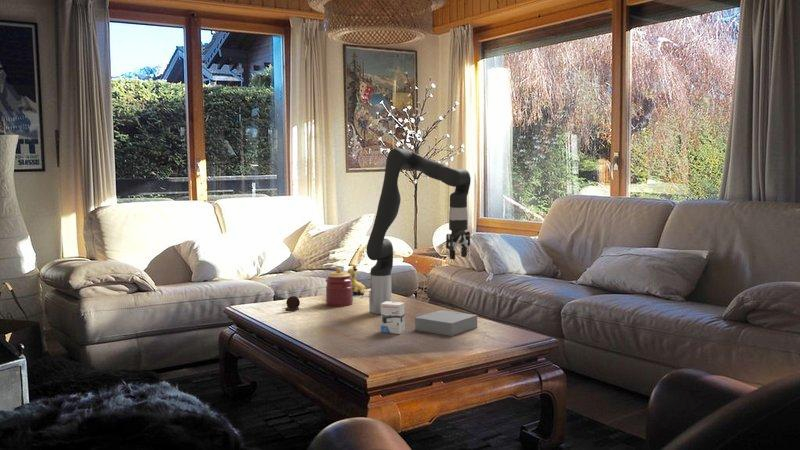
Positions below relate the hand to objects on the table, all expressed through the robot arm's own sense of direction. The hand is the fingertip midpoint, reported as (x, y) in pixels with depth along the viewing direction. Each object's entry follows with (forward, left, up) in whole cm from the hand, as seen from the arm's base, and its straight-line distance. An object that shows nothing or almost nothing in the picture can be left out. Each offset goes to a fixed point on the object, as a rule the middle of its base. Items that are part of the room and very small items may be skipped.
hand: (458, 258), depth 284 cm
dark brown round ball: (-81, -18, -28) cm, 88 cm away
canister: (-72, +5, -28) cm, 78 cm away
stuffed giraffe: (-81, +29, -29) cm, 91 cm away
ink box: (-15, -24, -28) cm, 40 cm away
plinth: (-1, -7, -28) cm, 29 cm away
